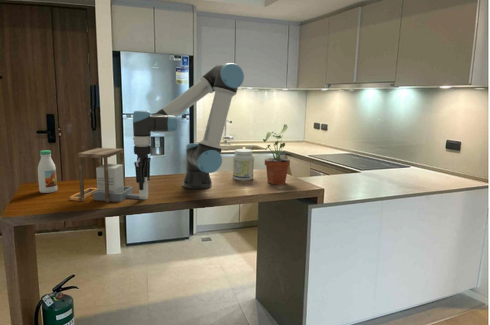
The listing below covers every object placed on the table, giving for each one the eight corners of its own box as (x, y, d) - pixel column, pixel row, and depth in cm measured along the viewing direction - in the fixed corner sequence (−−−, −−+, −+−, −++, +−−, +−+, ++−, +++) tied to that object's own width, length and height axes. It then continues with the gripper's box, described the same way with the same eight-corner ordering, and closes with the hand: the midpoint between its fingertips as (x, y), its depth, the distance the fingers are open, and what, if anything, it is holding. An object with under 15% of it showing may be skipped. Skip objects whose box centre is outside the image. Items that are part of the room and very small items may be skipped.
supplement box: (106, 193, 171) (105, 163, 168) (124, 194, 170) (123, 164, 167) (97, 199, 162) (95, 167, 159) (116, 200, 161) (114, 168, 158)
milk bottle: (39, 194, 168) (35, 152, 164) (39, 190, 175) (36, 149, 171) (57, 192, 171) (54, 151, 168) (57, 188, 178) (54, 149, 174)
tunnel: (125, 192, 175) (123, 148, 171) (108, 202, 158) (105, 154, 154) (100, 190, 176) (98, 147, 172) (80, 200, 159) (77, 153, 155)
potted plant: (272, 178, 212) (274, 119, 206) (293, 182, 202) (297, 121, 196) (255, 182, 201) (257, 120, 194) (277, 187, 191) (280, 122, 184)
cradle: (152, 194, 171) (151, 174, 169) (141, 202, 158) (140, 181, 156) (107, 192, 173) (106, 172, 172) (93, 199, 161) (92, 178, 159)
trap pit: (99, 190, 176) (99, 188, 176) (79, 200, 159) (79, 198, 159) (89, 190, 176) (89, 187, 176) (69, 199, 160) (68, 197, 160)
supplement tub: (240, 175, 218) (241, 148, 215) (257, 178, 211) (258, 150, 208) (228, 178, 208) (228, 150, 205) (245, 182, 201) (246, 152, 198)
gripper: (141, 142, 168) (142, 190, 173) (126, 147, 153) (128, 199, 157) (156, 143, 167) (157, 191, 172) (143, 148, 152) (144, 200, 157)
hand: (143, 195), depth 165 cm, fingers closed on cradle, 2 cm apart
